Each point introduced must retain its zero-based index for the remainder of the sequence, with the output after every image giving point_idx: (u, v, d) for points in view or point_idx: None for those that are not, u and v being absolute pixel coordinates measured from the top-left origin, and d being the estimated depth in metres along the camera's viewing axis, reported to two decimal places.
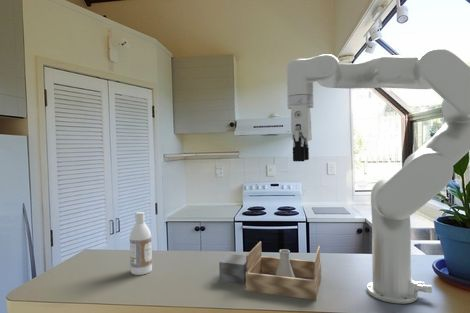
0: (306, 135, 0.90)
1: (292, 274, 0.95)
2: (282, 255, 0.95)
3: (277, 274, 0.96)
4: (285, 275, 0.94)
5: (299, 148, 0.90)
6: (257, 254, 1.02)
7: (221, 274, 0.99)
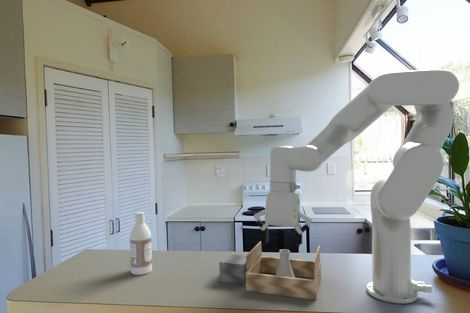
0: None
1: (292, 274, 0.95)
2: (282, 255, 0.95)
3: (277, 274, 0.96)
4: (285, 275, 0.94)
5: None
6: (257, 254, 1.02)
7: (221, 274, 0.99)
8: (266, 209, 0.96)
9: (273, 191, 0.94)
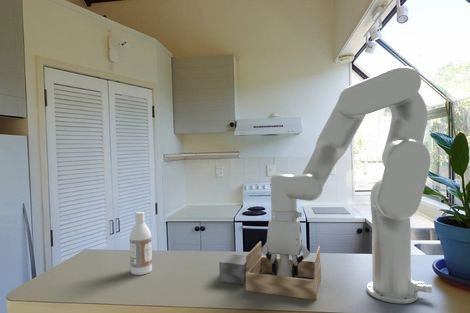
0: None
1: None
2: (282, 255, 0.95)
3: (277, 274, 0.96)
4: (285, 275, 0.94)
5: (297, 265, 0.95)
6: (257, 254, 1.02)
7: (221, 274, 0.99)
8: (268, 238, 0.96)
9: (274, 220, 0.94)
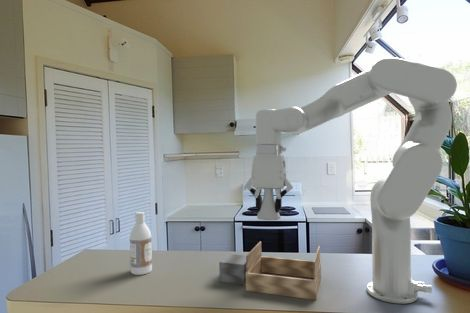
0: None
1: None
2: (266, 189, 0.96)
3: (261, 208, 0.97)
4: (268, 208, 0.95)
5: (281, 199, 0.97)
6: (257, 254, 1.02)
7: (221, 274, 0.99)
8: (252, 172, 0.97)
9: (259, 154, 0.95)
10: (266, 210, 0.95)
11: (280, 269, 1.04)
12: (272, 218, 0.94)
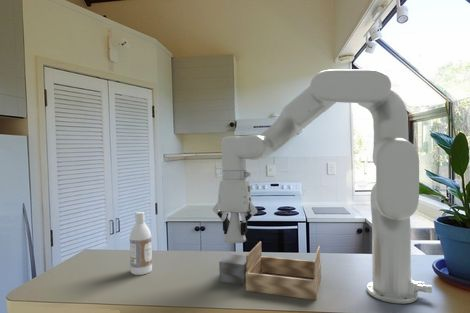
0: None
1: None
2: (232, 213, 1.00)
3: (227, 231, 1.01)
4: (234, 231, 0.99)
5: (246, 222, 1.00)
6: (257, 254, 1.02)
7: (221, 274, 0.99)
8: (219, 197, 1.01)
9: (224, 179, 0.99)
10: (231, 233, 0.99)
11: (280, 269, 1.04)
12: (237, 241, 0.98)
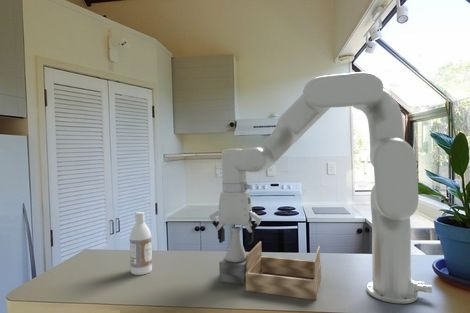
0: None
1: (242, 249, 1.00)
2: (233, 231, 1.00)
3: (228, 249, 1.01)
4: (235, 250, 0.99)
5: (252, 232, 1.00)
6: (257, 254, 1.02)
7: (221, 274, 0.99)
8: (219, 209, 1.01)
9: (224, 192, 0.99)
10: (233, 252, 0.99)
11: (280, 269, 1.04)
12: (239, 260, 0.98)
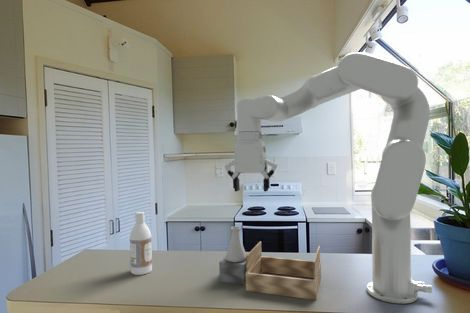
0: None
1: (242, 249, 1.00)
2: (233, 231, 1.00)
3: (228, 249, 1.01)
4: (235, 250, 0.99)
5: None
6: (257, 254, 1.02)
7: (221, 274, 0.99)
8: (235, 158, 1.03)
9: (240, 140, 1.02)
10: (233, 252, 0.99)
11: (280, 269, 1.04)
12: (239, 260, 0.98)
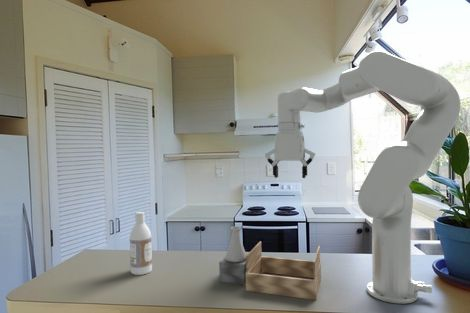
0: None
1: (242, 249, 1.00)
2: (233, 231, 1.00)
3: (228, 249, 1.01)
4: (235, 250, 0.99)
5: None
6: (257, 254, 1.02)
7: (221, 274, 0.99)
8: (275, 147, 1.11)
9: (281, 130, 1.10)
10: (233, 252, 0.99)
11: (280, 269, 1.04)
12: (239, 260, 0.98)
